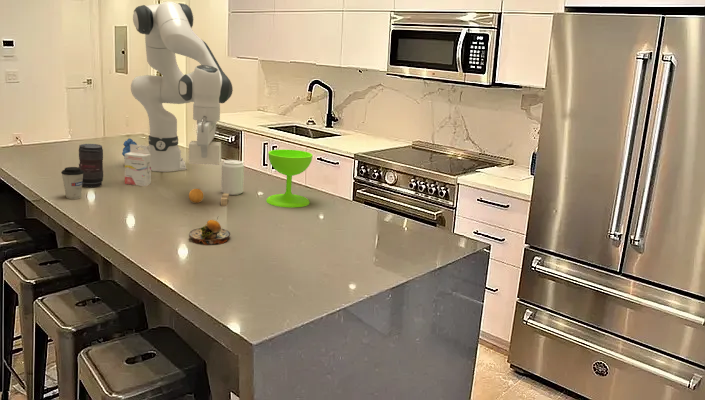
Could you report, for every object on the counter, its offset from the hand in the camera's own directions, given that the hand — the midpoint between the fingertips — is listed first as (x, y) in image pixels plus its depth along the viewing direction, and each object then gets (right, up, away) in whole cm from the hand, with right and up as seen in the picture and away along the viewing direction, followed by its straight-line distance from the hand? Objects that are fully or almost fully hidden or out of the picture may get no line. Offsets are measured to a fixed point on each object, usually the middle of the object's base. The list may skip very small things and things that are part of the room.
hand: (205, 155), depth 205 cm
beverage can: (+5, -13, +21) cm, 25 cm away
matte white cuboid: (0, -2, +1) cm, 2 cm away
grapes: (-45, -2, +49) cm, 67 cm away
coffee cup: (-45, -15, -1) cm, 47 cm away
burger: (+9, -27, -31) cm, 42 cm away
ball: (-4, -14, +3) cm, 15 cm away
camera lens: (-46, -10, +15) cm, 49 cm away
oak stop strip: (+5, -17, +6) cm, 18 cm away
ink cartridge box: (-32, -10, +23) cm, 40 cm away
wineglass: (+27, -16, +15) cm, 34 cm away
